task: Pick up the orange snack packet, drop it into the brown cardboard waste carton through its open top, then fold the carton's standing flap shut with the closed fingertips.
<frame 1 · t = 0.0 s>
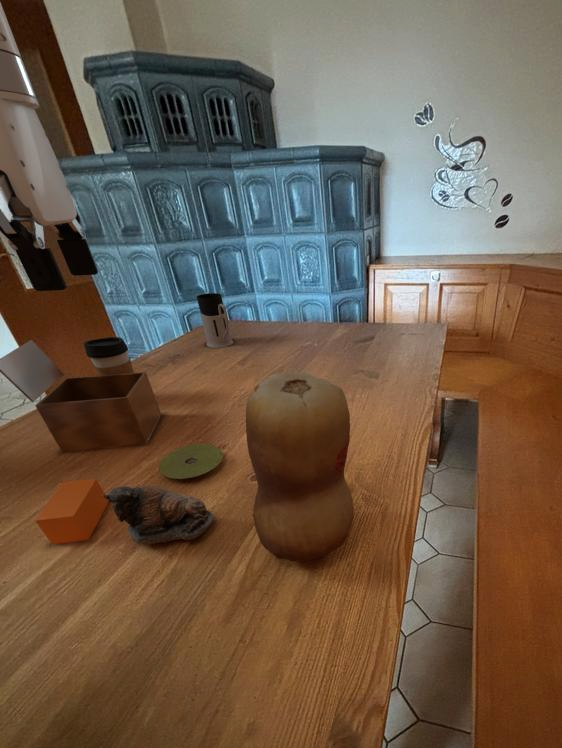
hand: (69, 281, 47), 33 cm above the table, tool pointing down, fingers open, 9 cm apart
waste carton: (115, 433, 83), on the table
carton flap: (31, 369, 72), point 15 cm above the table, hinge at 110.0°
coffee cup: (128, 402, 95), on the table
glass holder: (224, 346, 128), on the table
packet: (82, 522, 61), on the table
mat: (194, 469, 72), on the table
butternut squash: (309, 543, 57), on the table
bison figurine: (174, 537, 58), on the table
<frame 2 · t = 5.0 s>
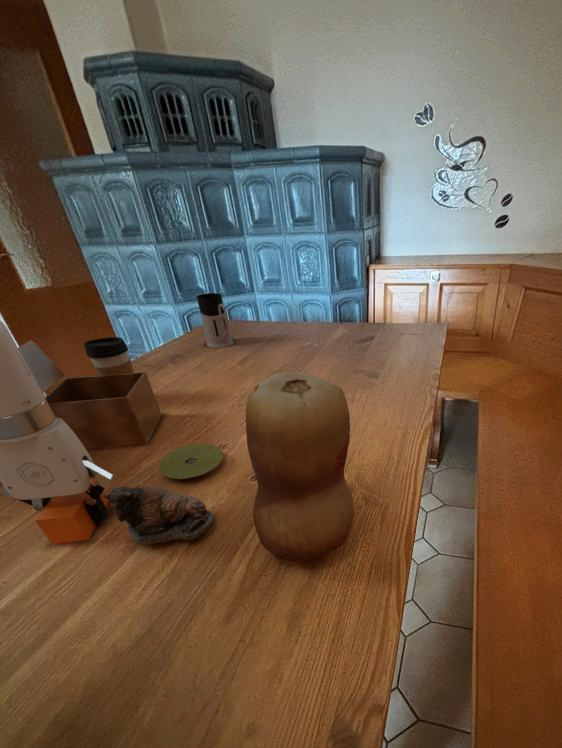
hand: (81, 520, 60), 0 cm above the table, tool pointing down, fingers closed on packet, 5 cm apart
packet: (82, 522, 61), on the table, touching gripper
everything else where it was.
when the fingers open (6 cm above the table, at t = 13.9 s): packet drops 5 cm, resting on waste carton.
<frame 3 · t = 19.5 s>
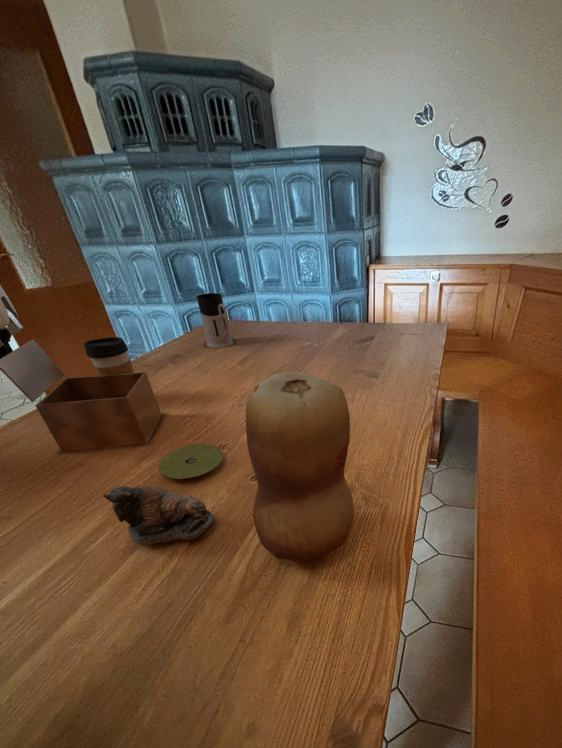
hand: (9, 366, 72), 16 cm above the table, tool pointing down, fingers closed
carton flap: (32, 369, 72), point 15 cm above the table, hinge at 107.1°, touching gripper
packet: (119, 430, 83), resting on waste carton
everything else where it was.
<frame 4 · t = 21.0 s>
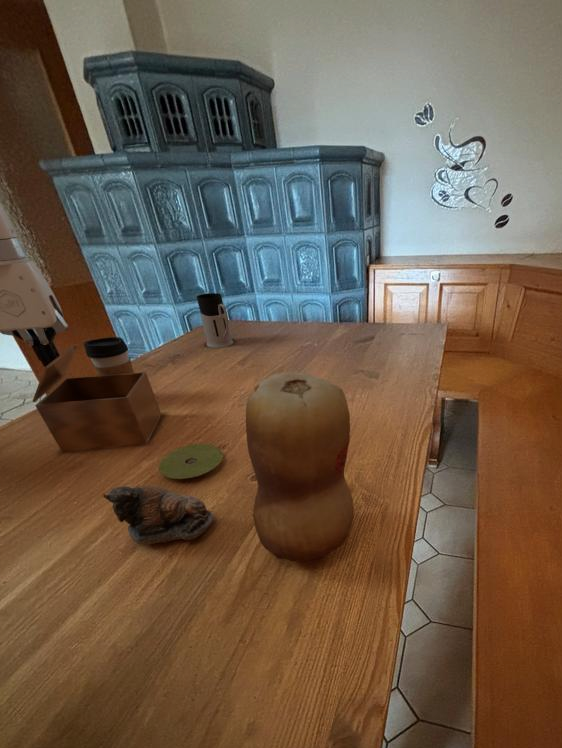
hand: (52, 364, 73), 16 cm above the table, tool pointing down, fingers closed
carton flap: (55, 371, 73), point 14 cm above the table, hinge at 50.4°
everything else where it was.
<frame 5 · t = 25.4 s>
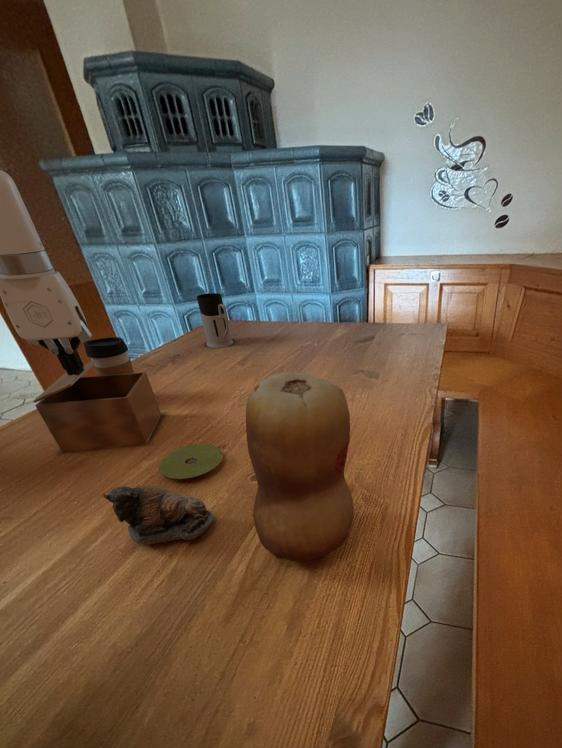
hand: (76, 372, 74), 14 cm above the table, tool pointing down, fingers closed
carton flap: (67, 379, 75), point 12 cm above the table, hinge at 19.6°, touching gripper
everything else where it was.
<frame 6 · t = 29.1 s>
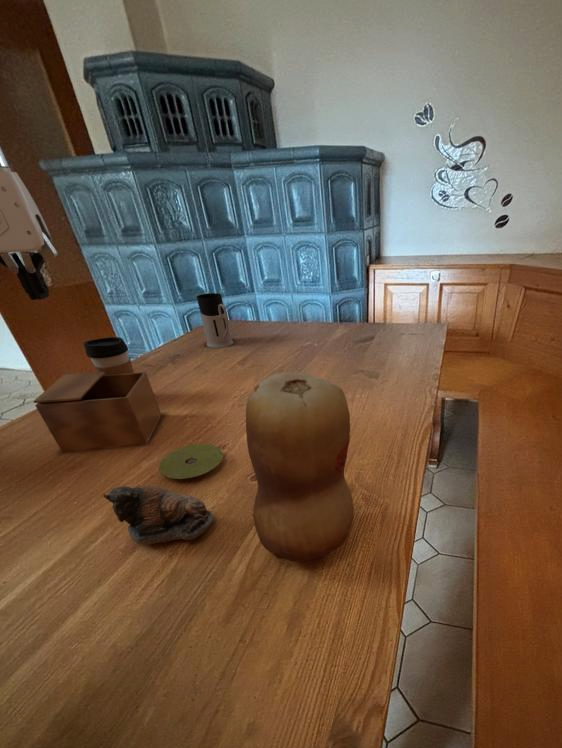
hand: (40, 297, 66), 27 cm above the table, tool pointing down, fingers closed
carton flap: (71, 386, 75), point 11 cm above the table, hinge at -0.3°
everything else where it was.
at the end: packet inside the target area in the waste carton (0.9 cm from its centre), point 0.5 cm above the waste carton's base; carton flap at +0° (first picture: +110°) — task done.
